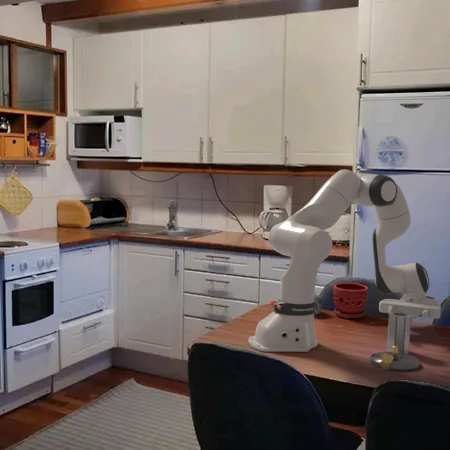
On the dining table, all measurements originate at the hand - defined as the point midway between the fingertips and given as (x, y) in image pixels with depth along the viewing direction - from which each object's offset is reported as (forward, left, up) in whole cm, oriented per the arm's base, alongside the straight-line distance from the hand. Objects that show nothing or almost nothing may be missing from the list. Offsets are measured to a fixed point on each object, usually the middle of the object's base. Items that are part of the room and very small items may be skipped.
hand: (406, 313), depth 198 cm
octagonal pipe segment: (-8, -9, -9) cm, 16 cm away
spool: (-17, +43, -10) cm, 47 cm away
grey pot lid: (-15, -19, -9) cm, 26 cm away
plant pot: (-3, +35, -10) cm, 36 cm away
